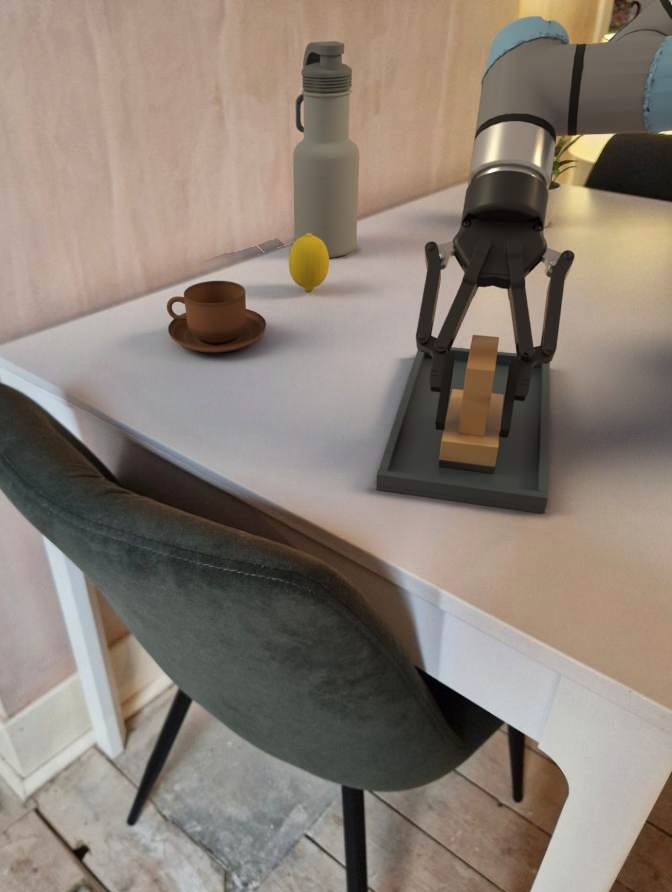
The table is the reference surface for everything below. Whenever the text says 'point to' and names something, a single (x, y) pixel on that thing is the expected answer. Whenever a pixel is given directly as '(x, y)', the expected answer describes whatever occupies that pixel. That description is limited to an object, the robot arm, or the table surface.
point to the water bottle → (326, 152)
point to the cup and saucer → (215, 318)
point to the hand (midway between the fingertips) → (471, 429)
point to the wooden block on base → (474, 413)
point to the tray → (511, 486)
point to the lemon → (308, 262)
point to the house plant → (555, 186)
